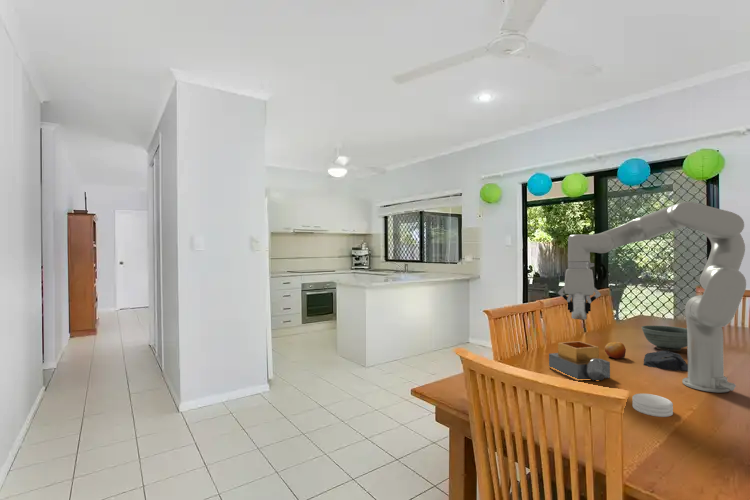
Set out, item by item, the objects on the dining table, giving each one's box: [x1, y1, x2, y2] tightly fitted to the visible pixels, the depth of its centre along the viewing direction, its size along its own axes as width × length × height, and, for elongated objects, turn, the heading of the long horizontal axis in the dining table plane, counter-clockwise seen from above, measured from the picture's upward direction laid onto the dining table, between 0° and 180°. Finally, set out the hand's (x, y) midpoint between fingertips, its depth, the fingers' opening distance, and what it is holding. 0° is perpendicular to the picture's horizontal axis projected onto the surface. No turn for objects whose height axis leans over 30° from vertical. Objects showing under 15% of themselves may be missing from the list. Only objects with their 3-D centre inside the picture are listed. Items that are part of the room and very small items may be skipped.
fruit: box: [604, 341, 626, 360], centre depth 172 cm, size 8×8×8 cm
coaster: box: [631, 393, 674, 418], centre depth 116 cm, size 10×10×4 cm
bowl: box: [641, 325, 687, 352], centre depth 184 cm, size 21×21×10 cm
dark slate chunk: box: [643, 350, 688, 372], centre depth 163 cm, size 15×22×5 cm
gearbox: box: [548, 340, 611, 381], centre depth 150 cm, size 18×14×11 cm
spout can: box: [571, 293, 588, 320], centre depth 151 cm, size 5×5×12 cm
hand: (579, 312), depth 151 cm, fingers closed on spout can, 5 cm apart
